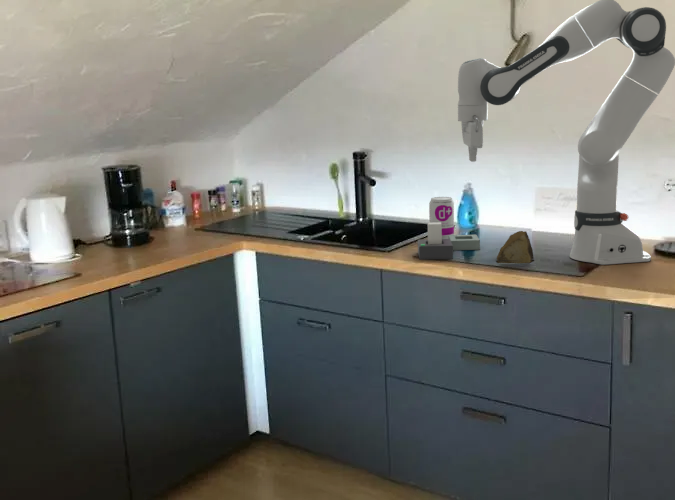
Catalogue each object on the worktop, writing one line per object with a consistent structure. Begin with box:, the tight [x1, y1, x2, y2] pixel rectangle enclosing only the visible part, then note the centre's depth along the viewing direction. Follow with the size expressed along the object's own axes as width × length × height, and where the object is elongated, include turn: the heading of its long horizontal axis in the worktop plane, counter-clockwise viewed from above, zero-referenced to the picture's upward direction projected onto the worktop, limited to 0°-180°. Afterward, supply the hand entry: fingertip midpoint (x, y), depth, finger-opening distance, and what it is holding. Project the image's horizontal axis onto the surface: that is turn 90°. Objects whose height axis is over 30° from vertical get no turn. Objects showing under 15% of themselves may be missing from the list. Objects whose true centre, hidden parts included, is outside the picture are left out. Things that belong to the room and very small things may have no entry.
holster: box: [448, 234, 481, 251], centre depth 231 cm, size 9×9×4 cm
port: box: [417, 238, 454, 260], centre depth 221 cm, size 10×10×5 cm
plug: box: [427, 222, 442, 244], centre depth 220 cm, size 4×3×9 cm
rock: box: [496, 230, 535, 264], centre depth 213 cm, size 11×9×10 cm
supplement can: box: [428, 196, 455, 239], centre depth 243 cm, size 8×8×15 cm
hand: (472, 161), depth 218 cm, fingers closed
